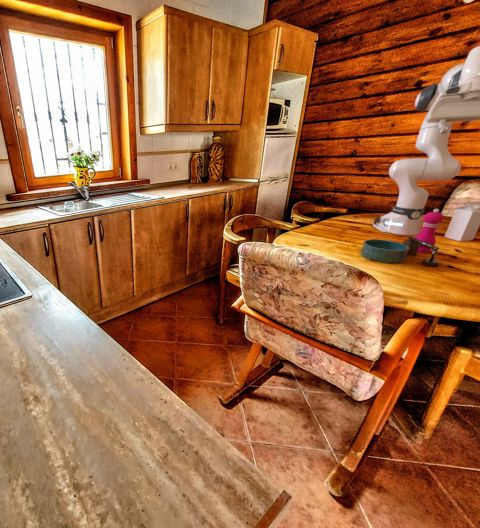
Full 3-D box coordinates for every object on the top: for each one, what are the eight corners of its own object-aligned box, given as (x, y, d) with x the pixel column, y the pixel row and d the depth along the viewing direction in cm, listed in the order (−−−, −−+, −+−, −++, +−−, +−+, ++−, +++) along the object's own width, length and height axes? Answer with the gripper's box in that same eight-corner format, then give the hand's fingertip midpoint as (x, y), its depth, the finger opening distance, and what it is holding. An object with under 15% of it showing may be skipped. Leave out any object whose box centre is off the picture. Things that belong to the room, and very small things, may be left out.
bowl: (353, 251, 134) (356, 239, 132) (389, 251, 131) (393, 239, 129) (372, 263, 120) (377, 250, 118) (413, 264, 117) (418, 251, 115)
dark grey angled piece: (398, 252, 130) (403, 235, 127) (409, 252, 129) (416, 235, 126) (427, 267, 114) (434, 248, 111) (440, 267, 114) (448, 249, 110)
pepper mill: (422, 248, 133) (438, 206, 125) (435, 253, 126) (454, 210, 118) (405, 248, 134) (420, 207, 126) (418, 253, 127) (435, 210, 119)
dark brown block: (399, 252, 130) (404, 239, 127) (409, 252, 129) (414, 239, 126) (405, 255, 126) (410, 242, 123) (415, 255, 125) (421, 242, 123)
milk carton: (443, 237, 145) (459, 200, 137) (456, 236, 145) (472, 200, 138) (459, 241, 138) (476, 203, 131) (472, 240, 139) (490, 202, 131)
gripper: (515, 94, 92) (503, 135, 93) (429, 101, 104) (419, 137, 104) (528, 82, 87) (515, 125, 88) (436, 90, 98) (425, 129, 99)
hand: (462, 132), depth 96 cm, fingers open, 8 cm apart
